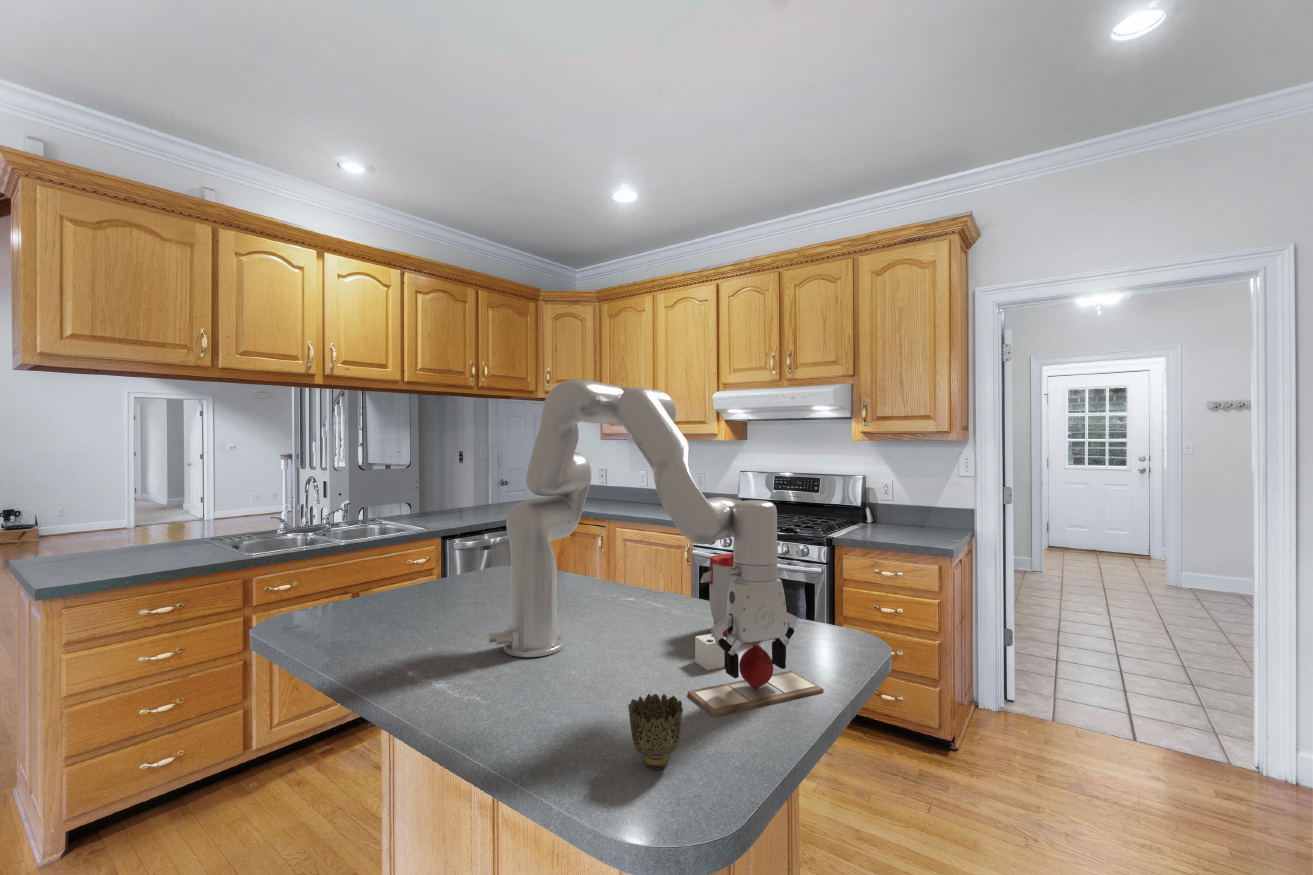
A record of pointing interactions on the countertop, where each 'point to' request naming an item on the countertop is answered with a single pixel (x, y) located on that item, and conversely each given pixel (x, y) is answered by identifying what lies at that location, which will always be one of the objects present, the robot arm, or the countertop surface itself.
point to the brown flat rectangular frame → (753, 693)
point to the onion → (756, 666)
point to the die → (708, 652)
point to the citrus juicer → (719, 585)
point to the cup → (655, 728)
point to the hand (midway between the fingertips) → (755, 670)
